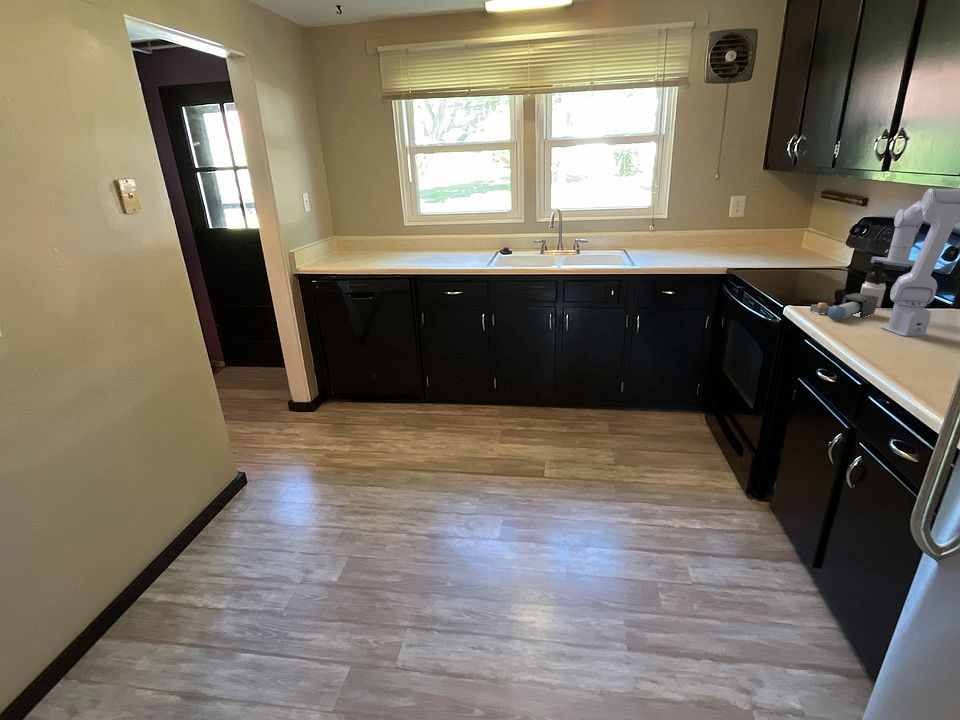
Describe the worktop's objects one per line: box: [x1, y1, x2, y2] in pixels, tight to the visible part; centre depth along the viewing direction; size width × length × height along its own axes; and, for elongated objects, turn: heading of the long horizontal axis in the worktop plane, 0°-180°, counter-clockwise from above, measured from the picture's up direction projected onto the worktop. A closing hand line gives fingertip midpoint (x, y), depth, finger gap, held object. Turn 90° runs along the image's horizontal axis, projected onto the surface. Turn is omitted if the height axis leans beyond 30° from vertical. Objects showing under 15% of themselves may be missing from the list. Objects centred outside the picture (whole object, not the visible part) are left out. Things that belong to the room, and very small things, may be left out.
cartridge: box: [827, 301, 863, 321], centre depth 178 cm, size 15×5×5 cm, turn 122°
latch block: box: [809, 304, 832, 313], centre depth 185 cm, size 5×5×2 cm
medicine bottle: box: [859, 272, 888, 309], centre depth 192 cm, size 7×7×12 cm
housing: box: [841, 292, 879, 318], centre depth 182 cm, size 9×7×6 cm
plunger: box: [818, 302, 828, 307], centre depth 185 cm, size 3×3×3 cm
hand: (890, 286), depth 177 cm, fingers open, 7 cm apart
